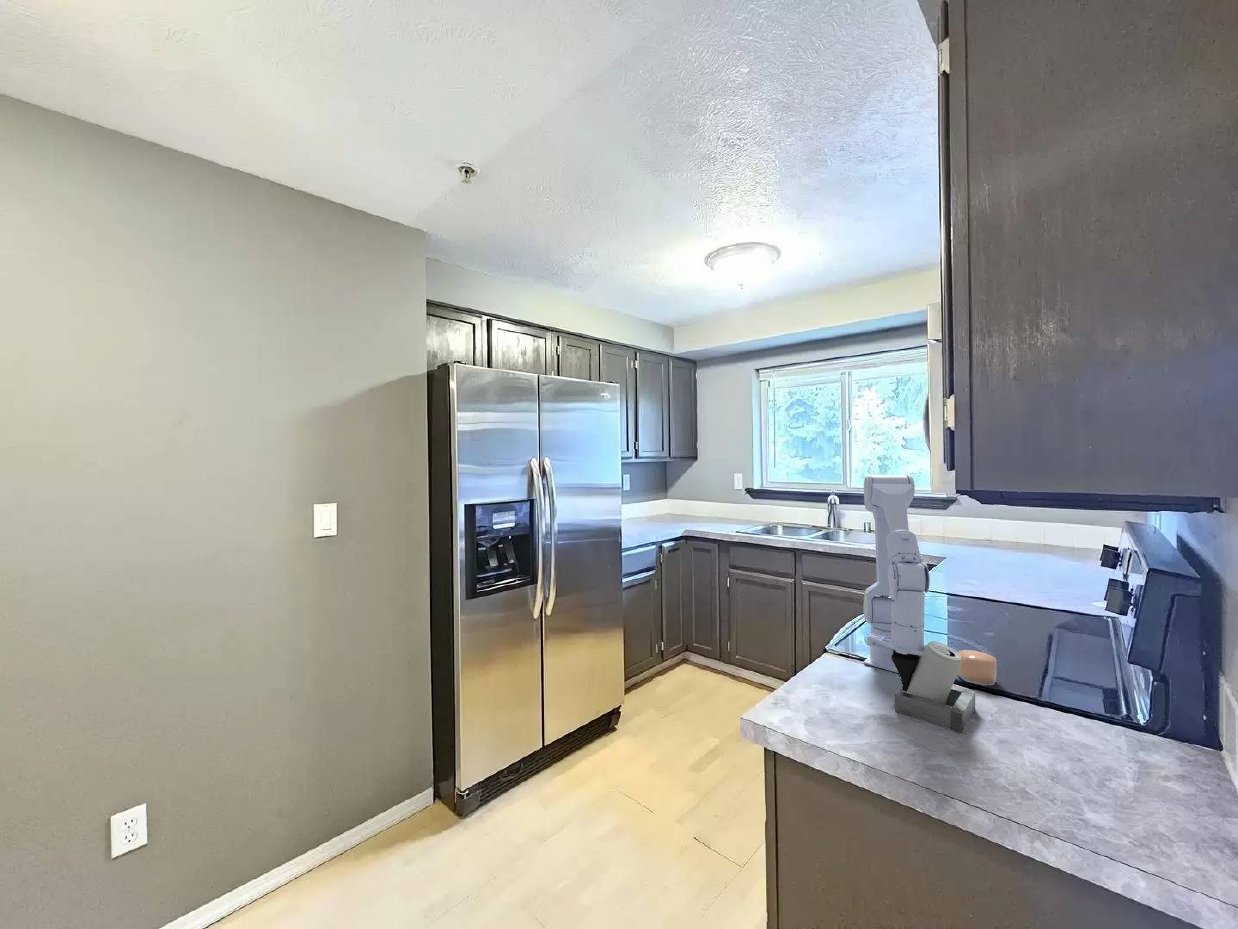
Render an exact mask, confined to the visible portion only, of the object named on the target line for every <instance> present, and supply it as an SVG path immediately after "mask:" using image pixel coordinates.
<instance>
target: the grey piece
mask: <svg viewBox="0 0 1238 929" xmlns="http://www.w3.org/2000/svg"><path fill="white" fill-rule="evenodd" d="M975 710H976V691H974V690H970V689H967V688H963V687H959V686H956V685H954V684H953V685H952V688H951V690H950V693H949V695H948V697H947V700H946V702H945V704H942V703H939V702H936V701H932V700H929V699H926V698H922V697H919V696H916V695H912V694H909V693H907V692H906V691H903V690H902V691H901V690H899V689H898V690H897V691H896V692H895V694H894V712H896V713H898V714H902V715H906V716H909V717H911V718H915V719H918V720H921V721H923V722H927V723H930V724H933V725H935V726H938V727H941V728H945V729H948V730H951V731H954V732H957V733H961V734H962V733H963V732H964V730H965V729H966V727H967V725H968V723H969V721H970V720H971V718H972V716H973V714H974V712H975Z"/></svg>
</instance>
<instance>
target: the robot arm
mask: <svg viewBox="0 0 1238 929" xmlns="http://www.w3.org/2000/svg"><path fill="white" fill-rule="evenodd" d="M915 489H916V486H915V481H914V478H913V477H912V476H911V475H910V474H906V475H895V474H893V475H891V474H890V475H889V474H888V475H887V474H885V475H880V474H877V475H876V474H873V475H872V474H867V475H866V476H865V477H864V481H863V503H864V506H865V507H864V508H865V510H866V511H868V512H870V513H871V514H872V517H873V519H874V533H875V535H874V537H875V540H874V541H875V564H876V565H875V568H876V572H875V573H876V582H874V583H873V584H872V585H870V586H869V587H867V588H866V589H865V591H864V592H863V593H864V595H863V596H864V597H863V606H862V607H863V609H862V610H863V617H864V620H865V623H867V624H870V633H869V635H867V636H866V638H867V640H866V642H867V643H866V645H867V646H869V648H870V649H869V650H870V652H869V653H870V654H869V656H868V657H867V658H866V659H865V660H863V664H865V665H868V666H872V667H876V668H879V669H882V670H886V671H890V672H893V673H897V674H898V675H899V678H900V681H901V686H902V687H901V688H902V692H906V693H907V689H908V686H909V684H910V681H911V679H912V676H913V674H914V671H915V669H916V666H917V663H918V661H919V658H920V656H923V654H924V652H923V648H924V647H925V646H927V645H926V644H925V605H926V604H925V603H926V601H925V599H926V598H925V597H926V594H927V593H928V592H929V590H930V582H931V581H930V577H931V576H930V571H929V567H928V564H927V563H926V561H925V559H924V558H922V556H921V553H920V549H919V548H920V547H919V544H918V539H917V536H916V534H915V533H913V532H912V531H910V530H909V529H910V528H909V520H908V518H909V517H908V508H909V507H910V505H911V503H912V501H913V499H914V498H915V497H914V496H915V491H916V490H915ZM924 592H925V593H926V594H925V593H924ZM879 596H880V597H879ZM881 596H884V597H881ZM885 596H886V597H885ZM887 596H888V597H887ZM950 654H951V653H950ZM950 654H946V655H948V656H950Z"/></svg>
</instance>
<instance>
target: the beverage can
mask: <svg viewBox="0 0 1238 929" xmlns="http://www.w3.org/2000/svg"><path fill="white" fill-rule="evenodd" d="M923 652H924V654H923V656H920V658H919V661H918V663H917V666H916V669H915V671H914V673H913V676H912V679H911V681H910V684H909V686H908V689H907V692H906V693H909V694H912V695H916V696H919V697H922V698H926V699H929V700H932V701H936V702H939V703H942V704H945V702H946V700H947V697H948V695H949V693H950V690H951V688H952V685H953V686H954V683H955V681H956V678H957V677H958V676H957V673H958V671H959V669H960V666H961V662H960V660H961V655H960V654H959V653H958V652H959V651H957V650H956V649H954V648H952V647H951V646H948V645H947V644H944V643H942V642H938V641H929V642H927V646H925V647H924V648H923ZM950 653H951V654H950ZM946 654H950V656H948V655H946Z"/></svg>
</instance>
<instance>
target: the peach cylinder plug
mask: <svg viewBox="0 0 1238 929" xmlns="http://www.w3.org/2000/svg"><path fill="white" fill-rule="evenodd" d="M957 652H958V653H959V654H960V655H961V660H960V662H961V666H960V669H959V671H958V673H957V674H958V675H961V676H962V677H964V678H966V679H968V680H970V681H976V682H979V683H982V684H990V683H995V682H996V683H997V666H998V665H997V662H998V661H997V658H996V657H995V656H993V655H990V654H988V653H985V652H982V651H979V650H972V649H963V650H958V651H957Z"/></svg>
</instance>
